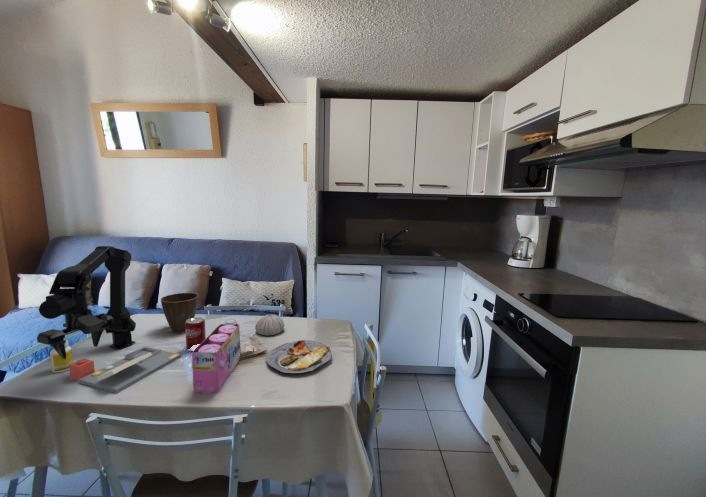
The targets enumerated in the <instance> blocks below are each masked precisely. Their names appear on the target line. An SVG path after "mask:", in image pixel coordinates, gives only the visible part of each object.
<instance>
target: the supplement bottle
mask: <svg viewBox="0 0 706 497" xmlns="http://www.w3.org/2000/svg"><path fill="white" fill-rule="evenodd" d="M65 340H66V339H65ZM51 348H52V349H51V351H50V352H49V355H50V356H49V357H50V364H51V372H53V373H55V374H56V373H63V372H66V371H69V365H70V364H72V363H74V362H73V351H72V347H71V346H69V340H66V343H65V351H66V359H62V358H61V356H60V355H59V354H58V353H57V352H56V350H55V349H54V348H53V347H52V346H51Z"/></svg>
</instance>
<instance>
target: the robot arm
mask: <svg viewBox="0 0 706 497" xmlns="http://www.w3.org/2000/svg"><path fill="white" fill-rule="evenodd" d="M131 260H132V253H130V252H129V250H127V249H120V248H116V247H114V246H111V245H99V246H95V248H94V250H93V251H91V253H89V254H88V255H87V256H85V257H84V258H83V259H82V260H81V261H80V262H78V263H77V264H75V265H71V266H68V267H65V268H64V269H61V270H60V271H58V272H57V274H56V276H55V278H54V280H53V283H52V285H51V287H50V290H49V291H48V294H49V295H45V300H43V301H42V302H41V303H40V305H39V307H38V311H39V314H40V315H41V316H42V317H43V318H45V319H49V320H53V319H56V318H59V317H61V316H64V322H65V323H62V327H63V329H61V330H60V329H55V328H52V329H49V330H45V331H42V332H39V333H38V335H37V336H36V342H37V343H39V344H43V345H48V346H50V347H51V348H52V347H53V348H54V349H55V350H56V352H57V353H58V354H59V355H60V356H61V358H62V359H66V351H65V343H66V339H65V338H66V335H70V334H73V333H75V332H76V333H77V332H79V331H80V332H82V333H83V334H84V335H91V340H92V344H93V346H94V347H96V348H97V347H98V345H99V343H100V340H101V338H102V334H103V332H104V331H105V333H106V334H111V338H112V344H110V345H108V347H109V348H112V349H116V350H122V349H124V348H126V347H129V346H132V345H134V344H135V343H136V341H134V340H133V338H132V332H133V331H135V330H136V327H137V326H136V325H137V323H136V321H135V320H133V319H132V318H131V312H130V311H129V309H128V308H127V307H126V271H127V270H128V269H129V267H130V266H131ZM103 264H104V267H105V268H106V269H107V271H108V272H109V309H108V310H107V312H106V313H105V312H101V313H100V314H99V313H98V314H96V315H95V314H94V315H93V313H92V312H93V311H92V309H91V308H89V307H88V296H87V292H89V291H90V290H91V288H90V287H88V285H89V283H90V282H91V280H92V279H93V276H92V275H93V273H94V272H95V271H96V270H98V269H99V267H101V265H103ZM53 348H52V349H53Z"/></svg>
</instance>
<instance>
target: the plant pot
mask: <svg viewBox="0 0 706 497" xmlns="http://www.w3.org/2000/svg"><path fill="white" fill-rule="evenodd" d="M198 299H199V295H198V294H197V293H193V292H180V293H173V294H168V295H165V296H162V297H161V298H160V303H161V307H162V310H163V314H164V316H165V320H166V321H167V324H168V326H169V329H171V331H172V333H173V334H183V333H185V322H186V320H188V319H190V318H195V317H196V313H197V312H196V311H197V307H198Z"/></svg>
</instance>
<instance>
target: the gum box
mask: <svg viewBox="0 0 706 497" xmlns="http://www.w3.org/2000/svg"><path fill="white" fill-rule="evenodd" d="M224 324H225V323H220V324H219V325H218V326H217V327H215V328H214V330H212V332H211V333H210V334H209V335H207V336H206V339H205V340H204V341H203V342H202V343H201V344H200V345H199V346H198V347H197V348H196V349H195V350H194V351H193V352H191V360H192V381H193V393H218V392H219V391H220V389H221V388H222V387H223V385H224V384H225V382H226V381H227V380H228V378H229V376H230V374H231V373H232V371H233V370H234V369H235V368H236V365H237V364H238V363H239V361H240V359H239V353H240V351H241V332H240V324H239V323H237V325H236V326H233V325H226V326H224ZM241 352H242V351H241Z"/></svg>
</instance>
